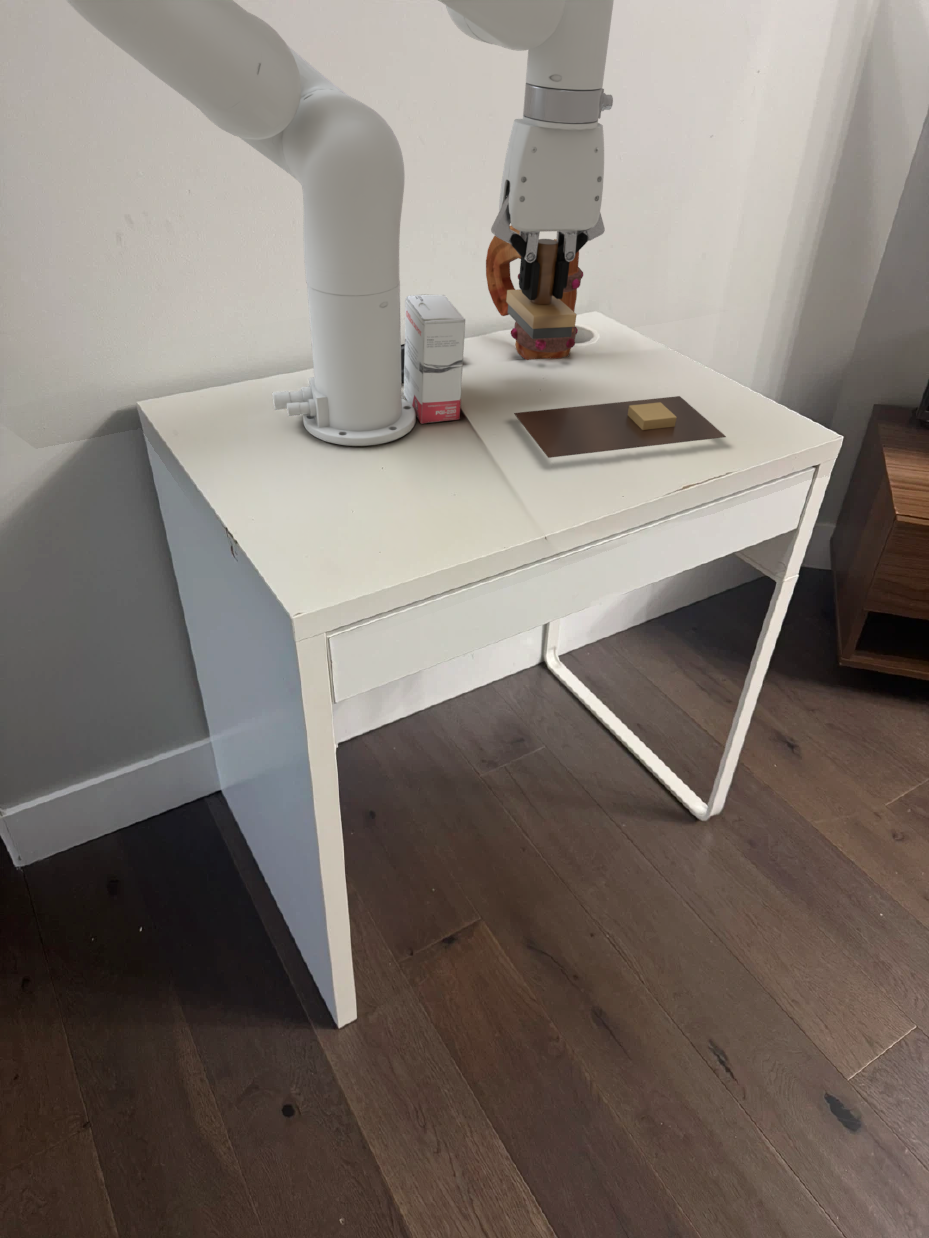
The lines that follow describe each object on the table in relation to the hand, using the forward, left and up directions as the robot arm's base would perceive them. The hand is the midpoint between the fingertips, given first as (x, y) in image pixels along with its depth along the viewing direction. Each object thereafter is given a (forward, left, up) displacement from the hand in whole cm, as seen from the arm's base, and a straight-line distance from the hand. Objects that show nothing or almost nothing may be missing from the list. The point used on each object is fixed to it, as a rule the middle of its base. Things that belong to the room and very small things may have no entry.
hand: (541, 294), depth 98 cm
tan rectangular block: (+10, -11, -11) cm, 19 cm away
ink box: (-12, +1, -13) cm, 18 cm away
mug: (+5, +15, -13) cm, 20 cm away
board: (+6, -11, -12) cm, 18 cm away
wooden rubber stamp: (0, 0, -3) cm, 3 cm away
